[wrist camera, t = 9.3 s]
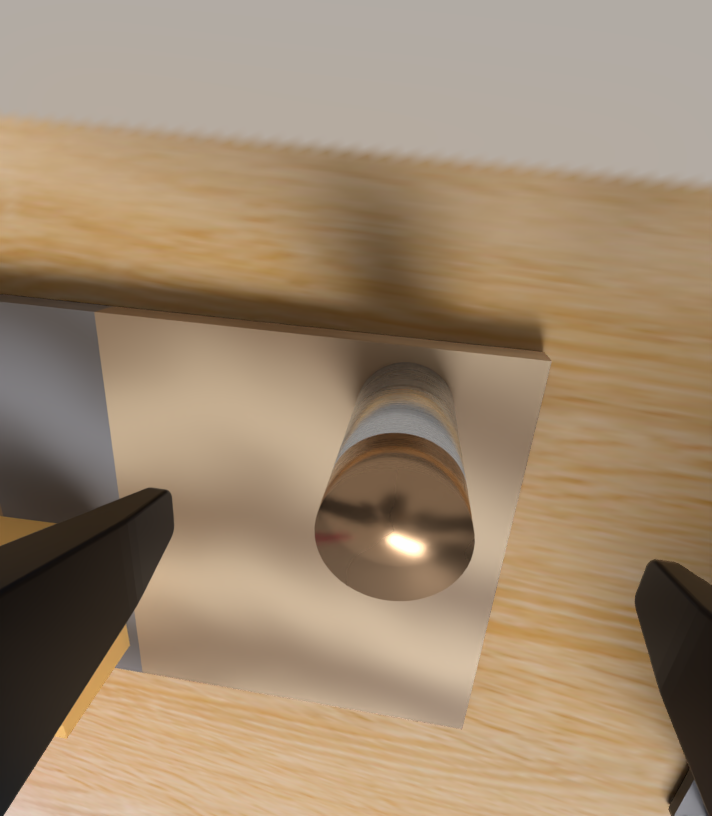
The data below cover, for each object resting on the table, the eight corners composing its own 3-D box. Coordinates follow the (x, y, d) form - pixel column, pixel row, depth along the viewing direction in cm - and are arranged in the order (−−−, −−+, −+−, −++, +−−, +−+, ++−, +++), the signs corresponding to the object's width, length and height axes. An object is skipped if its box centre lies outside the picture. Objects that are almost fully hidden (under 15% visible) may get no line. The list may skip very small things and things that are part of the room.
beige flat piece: (460, 706, 21) (462, 729, 20) (-6, 625, 23) (-24, 643, 22) (543, 351, 15) (551, 361, 14) (-105, 282, 17) (-135, 287, 16)
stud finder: (129, 645, 21) (60, 747, 17) (22, 628, 21) (-69, 724, 17) (109, 530, 18) (23, 616, 14) (-11, 514, 19) (-125, 595, 15)
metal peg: (446, 457, 15) (460, 612, 10) (353, 445, 16) (311, 588, 10) (461, 368, 14) (488, 480, 8) (360, 357, 15) (317, 458, 9)
